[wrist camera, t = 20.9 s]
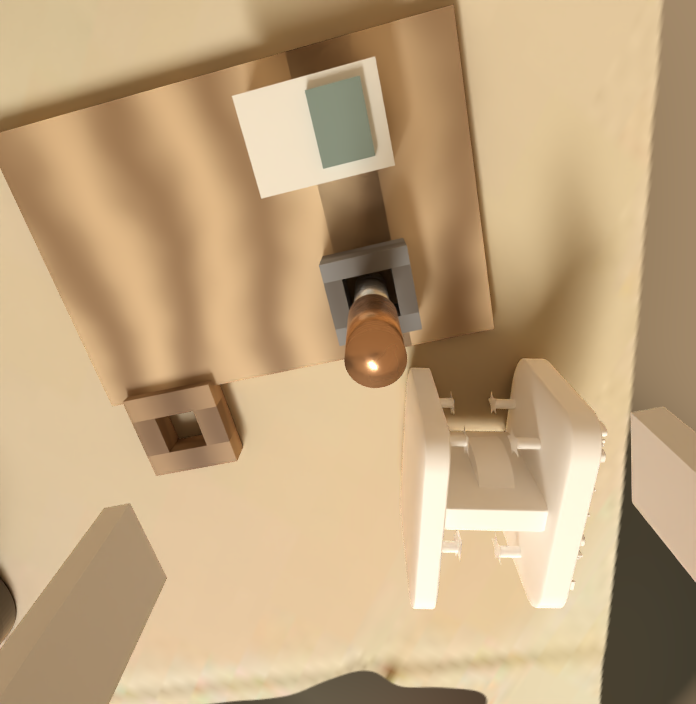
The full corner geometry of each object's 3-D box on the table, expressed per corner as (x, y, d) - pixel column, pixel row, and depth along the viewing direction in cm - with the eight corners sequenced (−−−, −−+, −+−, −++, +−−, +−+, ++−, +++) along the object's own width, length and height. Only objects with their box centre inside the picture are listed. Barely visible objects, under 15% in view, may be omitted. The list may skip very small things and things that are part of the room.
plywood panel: (119, 399, 39) (92, 426, 35) (-2, 137, 31) (-53, 134, 28) (490, 323, 35) (505, 343, 31) (450, 10, 28) (463, -14, 24)
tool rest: (165, 461, 41) (156, 475, 39) (134, 390, 38) (122, 402, 36) (242, 447, 40) (237, 461, 38) (215, 373, 38) (208, 384, 36)
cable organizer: (405, 346, 36) (423, 425, 26) (545, 348, 36) (622, 428, 25) (397, 504, 42) (409, 623, 31) (518, 506, 42) (572, 627, 31)
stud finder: (272, 194, 31) (259, 199, 27) (246, 102, 29) (228, 94, 25) (391, 164, 30) (395, 165, 26) (373, 68, 28) (375, 53, 24)
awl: (355, 309, 34) (352, 393, 22) (346, 272, 33) (338, 337, 21) (394, 301, 34) (412, 381, 22) (386, 263, 33) (400, 324, 21)
